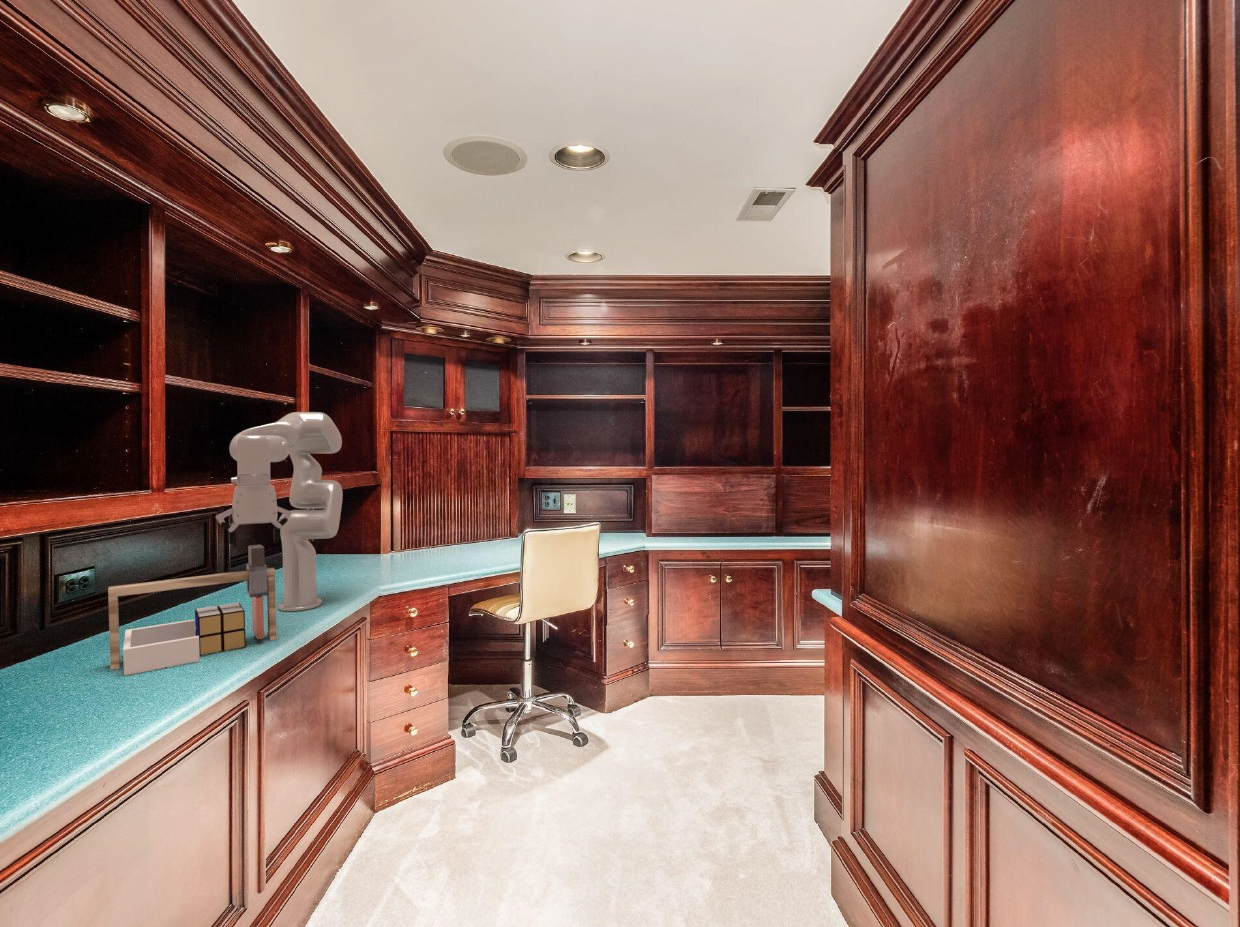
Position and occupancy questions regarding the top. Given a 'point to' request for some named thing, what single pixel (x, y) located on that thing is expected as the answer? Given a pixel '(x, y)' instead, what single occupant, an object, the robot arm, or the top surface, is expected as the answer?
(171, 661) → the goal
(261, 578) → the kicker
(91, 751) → the top surface
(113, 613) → the rail gantry
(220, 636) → the puzzle cube
